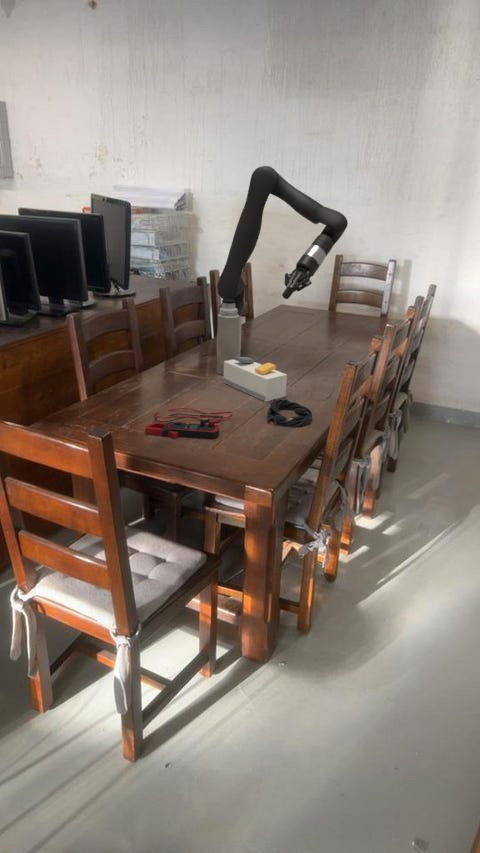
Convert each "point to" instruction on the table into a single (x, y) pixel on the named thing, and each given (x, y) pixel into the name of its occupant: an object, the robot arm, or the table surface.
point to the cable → (286, 404)
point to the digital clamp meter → (187, 426)
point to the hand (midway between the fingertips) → (284, 297)
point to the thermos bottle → (227, 334)
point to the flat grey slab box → (244, 359)
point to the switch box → (255, 380)
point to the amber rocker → (265, 368)
